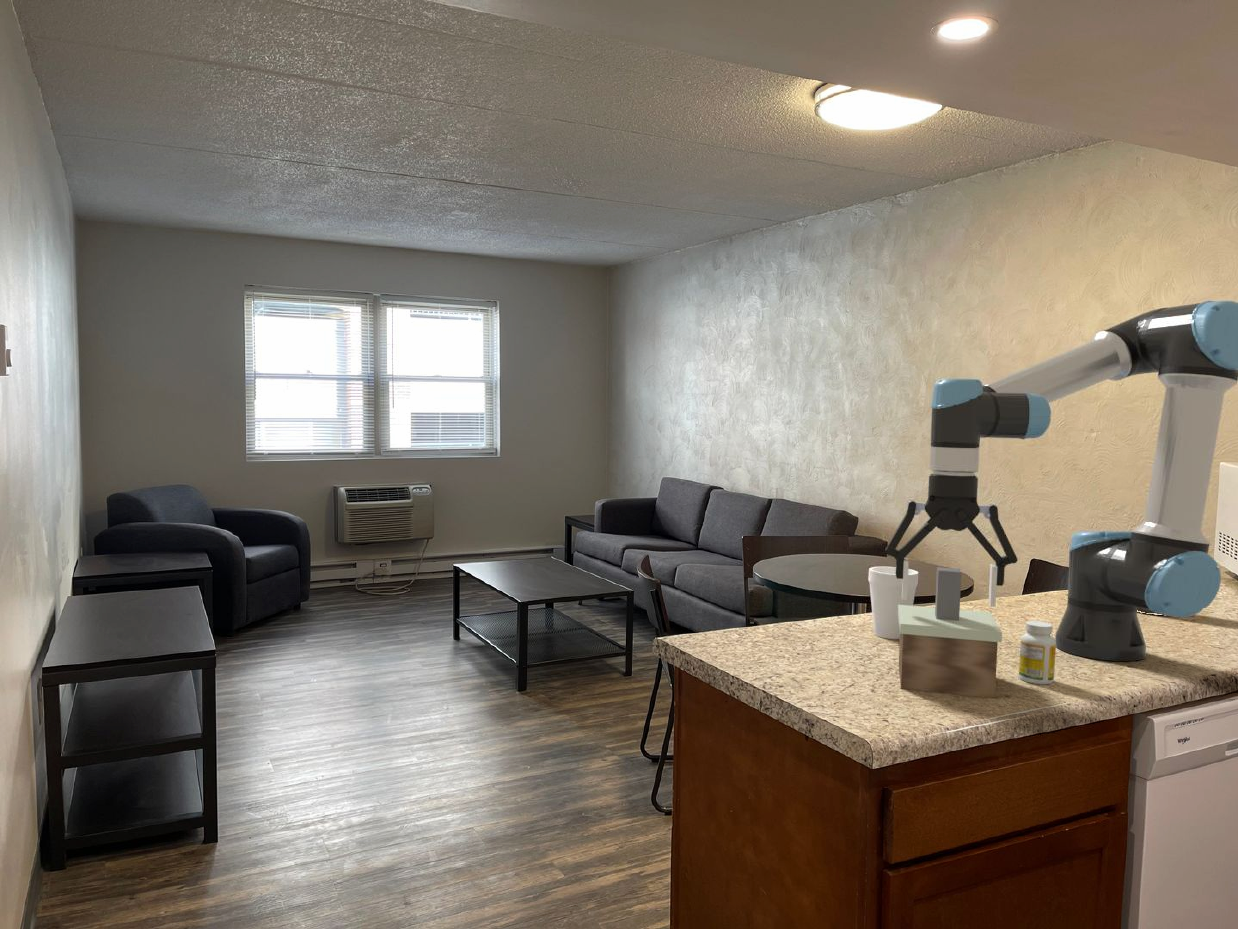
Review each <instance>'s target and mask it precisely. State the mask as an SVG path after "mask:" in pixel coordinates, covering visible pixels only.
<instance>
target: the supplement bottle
mask: <svg viewBox="0 0 1238 929" xmlns="http://www.w3.org/2000/svg"><path fill="white" fill-rule="evenodd" d="M1053 626H1054V625H1052V624H1051V623H1049V622H1044V621H1039V620H1029V621H1026V623H1025V631H1026V632H1027V633H1023V635H1021V637H1020V650H1019V665H1018V666H1019V668H1018V677H1019V679H1020V680H1022V681H1024V682H1026V683H1030V684H1035V685H1050V684H1052V683H1053V682H1054V678H1055V663H1056V649H1057V647H1056V641H1055V638H1054V637H1053V636H1051V635H1052V634H1053V628H1054V627H1053Z"/></svg>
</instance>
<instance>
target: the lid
mask: <svg viewBox="0 0 1238 929" xmlns="http://www.w3.org/2000/svg"><path fill="white" fill-rule="evenodd" d="M935 581H936V583H935V584H936V585H935V602H934V604H935V606H934V607H932V606H931V607H930V606H920V605H919V606H918V605H913V606H909V605H898V620H899V628H900V634H911V635H922V636H933V637H945V638H956V639H968V640H979V641H990V642H998V643H1003V642H1002V641H1003V631H1002V630H1001V628H1000V627H999V624H998V623H997V621H996V620H995V618H994V616H993V615H992V613H991V611H986V610H984V611H983V610H971V609H961V608H960V607H961V587H962V571H961V569H960V568H955V567H941V566H940V567H939V566H937V567H936V580H935Z"/></svg>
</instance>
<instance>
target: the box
mask: <svg viewBox="0 0 1238 929" xmlns="http://www.w3.org/2000/svg"><path fill="white" fill-rule="evenodd" d="M998 643H999V642H990V641H979V640H968V639H956V638H945V637H933V636H922V635H911V634H900V639H899V651H898V671H899V672H898V673H899V682H900V688H901V689H903V690H913V691H921V692H922V691H924V692H932V693H941V694H942V693H943V694H951V695H960V696H970V697H980V698H988V699H989V698H990V699H995V698H996V682H997V666H998V665H997V662H998Z"/></svg>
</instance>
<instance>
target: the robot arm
mask: <svg viewBox="0 0 1238 929" xmlns="http://www.w3.org/2000/svg"><path fill="white" fill-rule="evenodd" d="M1150 373H1151V374H1152V373H1157V379H1158V380H1159V381H1160V382H1161V383H1162V384H1163V386H1164V387H1165V388H1164V389H1165V392H1164V397H1163V404H1162V409H1161V416H1160V422H1159V428H1158V433H1157V439H1156V444H1155V451H1154V457H1153V463H1152V469H1151V474H1150V480H1149V481H1150V482H1149V486H1148V491H1147V492H1148V493H1147V500H1146V504H1145V509H1144V510H1145V511H1144V517H1143V521H1142V522H1141V523H1140V524H1139V525H1137V526H1136V527H1134V528H1132V529H1131V530H1130V531H1129V530H1123V531H1121V530H1119V531H1118V530H1117V531H1116V530H1113V531H1111V530H1108V531H1107V530H1093V531H1092V530H1086V531H1085V530H1084V531H1083V530H1082V531H1081V530H1080V531H1077V532H1075V533H1073V535H1072V536H1071V541H1070V548H1069V550H1068V553H1069V556H1068V580H1067V581H1068V584H1067V604H1066V605H1067V606H1066V608H1065V612H1064V614H1063V616H1062V618H1061V620H1060V623H1059V624H1058V628H1057V630H1056V632H1055V638H1054V639H1055V641H1056V649H1059V650H1061V651H1063V652H1064V653H1065V652H1066V653H1068V654H1072V655H1075V656H1079V657H1083V658H1089V659H1095V660H1102V661H1103V660H1104V661H1113V662H1135V661H1136V660H1137V661H1140V660H1143V658H1144V659H1145V658H1146V652H1147V651H1146V650H1147V646H1146V641H1145V638H1144V634H1143V631H1142V627H1141V624H1140V621H1139V617H1138V612H1137V607H1140V608H1143V609H1147V610H1151V611H1153V612H1155V613H1157V614H1162V615H1170V616H1169V617H1175V618H1188V617H1192V616H1195V615H1197V614H1199V613H1201V612H1202V611H1203V610H1204V609H1207V608H1208V607H1209V606H1210V605H1211V603H1213V602H1214V600H1215V598H1216V597H1217V594H1218V592H1219V590H1220V587H1221V582H1222V574H1221V569H1220V568H1219V567H1218V562H1217V561H1216V560H1215V559H1214V558H1213V557H1212V556H1210V555H1209V549H1210V541H1209V539H1208V538H1207V537H1206V536H1205V535H1204V533H1203V532H1202V527H1203V520H1204V515H1205V509H1206V503H1207V498H1208V492H1209V485H1210V479H1211V474H1212V468H1213V462H1214V456H1215V450H1216V446H1217V445H1216V444H1217V439H1218V433H1219V427H1220V422H1221V414H1222V409H1223V403H1224V399H1225V393H1226V392H1227V391H1228V390H1230V389H1232V388H1233V387H1235V386H1236V385H1238V302H1237V301H1234V300H1233V301H1232V300H1216V301H1214V300H1213V301H1212V300H1206V301H1202V302H1199V303H1192V304H1186V305H1179V306H1178V305H1177V306H1170V307H1161V308H1157V309H1153V310H1149V311H1147V312H1143V313H1141V314H1139V315H1137V316H1134V317H1132V318H1130V319H1128V320H1125V321H1123V322H1120V323H1119V324H1116V325H1114V326H1111V327H1109V328H1107V329H1104V330H1101V331H1099V332H1097V333H1096V334H1094V335H1093V337H1092V338H1091V340H1090V341H1089V342H1087V343H1085V344H1082V345H1080V346H1077V347H1075V348H1072V349H1070V350H1067V351H1065V352H1063V353H1060V354H1057V355H1054V356H1052V357H1050V358H1048V359H1045V360H1043V361H1040V362H1038V363H1035V364H1033V365H1030V366H1028V367H1026V368H1023V369H1020V370H1018V371H1015V372H1012V373H1010V374H1008V375H1006V376H1003V377H1000V378H998V379H996V380H994V381H991V382H988V383H985V384H983V382H982V381H981V380H980V379H976V378H942V379H941V378H940V379H939V380H937V381H936V382H935V383H934V384H933V385H934V386H933V391H932V399H931V406H930V409H931V422H930V423H931V424H930V425H931V427H930V428H931V429H930V449H929V468H928V469H929V470H930V471H932V473H931V474H930V475H929V476H928V490H927V491H928V492H927V500H926V502H918V501H917V502H916V501H915V500H914V499H913V500H912V499H911V500H909V501H908V502H907V506H906V507H907V508H906V513H905V515H903V516H904V517H903V518H902V520H901V522H900V523H899V525H898V527H897V528H896V530H895V532H894V533H893V535H892V537H891V539H890V541H889V542H888V544H887V545H886V547H885V550H884V551H885V554H886V555H887V556H890V557H893V558H894V559H895V567H896V577H897V579H902V600H907V588H908V569H909V558H906V557H907V556H908V555H909V554H910V553H911V552H912V551H913V550H914V549H915V548H916V547H917V546H918V545H919V544H920V543H921V542H922V541H923V540H924V539H925V538H926V537H927V536H928V535H929V534H930V533H931V532H932V531H933V530H935V528H937V529H939V530H941V531H950V530H953V531H955V532H962V531H965V530H966V529H968V531H969V532H970V533H971V534H972V536H973V537H974V538H975V539H976V541H978V543H979V544H980V545H981V546H982V547H983V549H984V551H986V552H987V553H988V555H989V556H990V557H991V559H992V560H993V561H994V562H995V563H990V564H989V565H990V566H989V567H990V568H989V581H988V582H989V585H988V587H989V588H988V605H989V607H991V608H992V607H993V608H996V606H997V605H996V601H997V587H1003V585H1005V584H1004V583H1005V569H1006V566H1008V565H1012V564H1017V563H1018V557H1017V555H1016V553H1015V550H1014V548H1013V547H1012V544H1011V542H1010V540H1009V538H1008V536H1007V534H1006V532H1005V530H1004V527H1003V525H1002V523H1001V521H1000V519H999V509H998V506H997V505H995V504H993V503H990V504H989V505H979V503H978V486H979V484H978V482H979V477H977V476H976V475H975V473H978V472H979V465H980V464H979V463H980V462H979V461H980V444H981V438H984V439H985V438H989V439H991V438H992V439H994V438H995V439H1019V440H1025V439H1037V438H1040V437H1042V436H1044V434H1045V433H1046V432H1047V431H1048V429H1049V427H1050V424H1051V420H1052V419H1051V417H1052V410H1051V406H1050V405H1051V403H1053V402H1055V401H1058V400H1059V399H1060V400H1061V399H1063V398H1065V397H1068V396H1070V395H1072V394H1075V393H1077V392H1080V391H1083V390H1084V389H1087V388H1089V387H1091V386H1094V385H1096V384H1099V383H1101V382H1104V381H1107V380H1110V381H1116V382H1117V381H1122V380H1124V379H1126V378H1129V377H1132V376H1138V375H1143V374H1150ZM921 511H925V512H926V514H927V515H928V517H929V519H928V520H927V521H926V522H925V523H924V524H923V525H922V526H921V528H920V529H918V531H916V532H915V534H914V535H913V536H911V537H910V538H909V539H908V541H906V543H904V545H902V547H900V548H899V550H898V549H897V547H898V546H899V543H900V542H901V540H902V538H903V537H904V536H905V533H906V532H907V530H908V528H909V527H910V525H911V523H912V522H913V520H914V518H915V516H918V515H920V513H921ZM980 513H981V514H982V515H983V517H984V518H985V519H987V520H989V523H990V525H991V527H992V530H993V531H994V534H995V536H996V538H997V539H998V542H999V543H1000V546H1001V548H1002V550H1003V552H1004V554H1005V555H1004V556H1001V555H1000V553H999V552H998V551H997V550H996V549H995V548H994V547H993V545H992V544H991V542H990V541H989V540H988V539H987V538H986V536H984V534H983V533H982V532H981V530H980V529H979V527H977V525H976V524H975V523H974V522H973V521H975V519H976V517H978V515H979V514H980Z"/></svg>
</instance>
